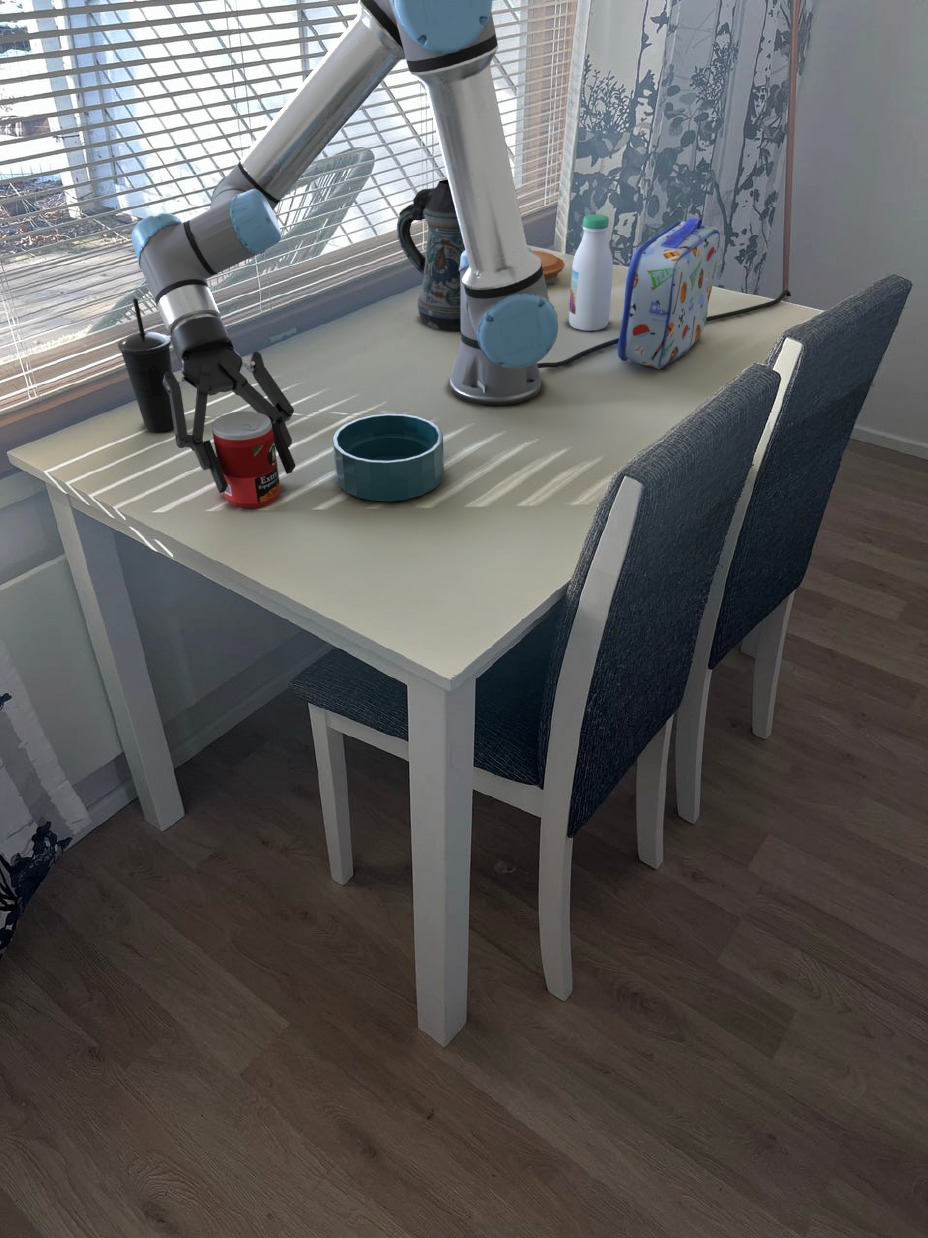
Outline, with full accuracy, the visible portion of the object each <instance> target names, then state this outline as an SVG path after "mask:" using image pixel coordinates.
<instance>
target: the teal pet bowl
mask: <svg viewBox="0 0 928 1238" xmlns="http://www.w3.org/2000/svg"><path fill="white" fill-rule="evenodd" d="M332 449H333V457H334V468H335V477H336V481H337V485H338V486H339V487H340V488H341V489H342V490H343V491H344V492H345V493H347V494H350V495H351V496H354V497H356V498H359V499H364V500H368V501H373V502H398V501H404V500H405V501H406V500H410V499H413V498H417V497H420V496H424V495H425V494H427V493H429V492H431V491H432V490H434V489H436V488H437V487H438V486H439V485H440V483H441V482H442V481H443V479H444V474H445V458H444V434H443V432H442V430H441V428H440V427H439V426H438V425H437V424H435V423H434V422H433V421H431V420H428V419H425V418H423V417H421V416H417V415H411V414H405V413H381V414H372V415H367V416H363V417H359V418H356V419H353V420H351V421H350V422H347V423H344V424H343V425H342V426H340V428H338V429H337V430H335V433H334V435H333V437H332Z"/></svg>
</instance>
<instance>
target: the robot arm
mask: <svg viewBox="0 0 928 1238" xmlns="http://www.w3.org/2000/svg"><path fill="white" fill-rule="evenodd" d="M357 7H358V8H357V12H358V13H357V16H355V18H354V19H353V21H352V22H351V23H350V24H349V26H348V27H347V28H346V29H345V31H344V32H343V33H342V34H341V36H339V38H338V39H337V41H336V42H335V43H334V44H333V45H332V47H331V48H330V49H329V50H328V51H327V53H326V54H325V55H324V56H323V58H322V59H321V60H320V61H319V62H318V63H317V65H316V66H315V68H314V69H313V70H312V71H311V72H310V73H309V75H308V76H307V77H306V79H304V81H303V82H302V83H301V85H300V86H299V87H298V89H297V90H296V91H295V92H294V93H293V94H292V96H291V97H290V98H289V100H288V101H287V102H286V103H285V105H284V106H283V107H282V108H281V110H279V112H278V113H277V114H276V115H275V116H274V118H273V119H272V120H271V122H270V123H268V125H267V127H266V128H265V129H264V130H263V132H261V134H259V136H258V138H256V140H255V141H254V142H253V144H252V145H251V146H250V147H249V149H247V151H246V152H245V154H244V155H243V156H242V157H241V158H240V160H239V162H238V163H237V164H236V165H235V166H234V167H233V168H232V170H231V171H230V172H229V173H228V175H226V176H224V177H223V178H221V179H220V180H219V182H218V183H217V184H216V186H215V187H214V189H213V190H212V195H211V197H210V207H209V209H208V210H206V211H204V212H203V213H201V214H199V215H197V216H195V217H193V218H192V219H189V220H187V221H183V222H182V220H181V218H179V217H178V216H177V215H175V214H172V213H169V212H161V213H158V214H157V215H152V214H151V215H148V216H146V217H144V218H143V219H141V220H140V221H139V222H138V223H136V225H135V226H134V227H133V229H132V231H131V235H130V236H131V237H130V239H131V243H132V246H133V249H134V252H135V256H136V258H137V264H138V267H139V269H140V270H141V272H142V274H143V277H144V279H145V282H146V284H147V286H148V288H149V291H150V293H151V295H152V298H153V300H154V302H155V305H156V307H157V309H158V313H159V314H160V318H161V320H162V322H163V325H164V327H165V330H166V332H167V335H168V336H170V340H171V345H172V347H173V350H174V352H175V355H176V357H177V360H178V362H179V364H180V370H177V371H174V372H173V371H172V372H170V371H167V372H165V374H164V379H163V385H164V387H165V389H166V391H167V393H168V394H169V398H170V404H171V411H172V418H173V424H174V428H173V431H174V437H175V444H176V446H177V448H180V449H185V448H190V449H191V451H193V452H194V453H195V457H196V458H197V460H198V461H197V462H198V463H199V466H200V468H201V469H202V470H203V471H207V470H209V471H210V473H211V477H212V478H213V481H214V483H215V486H216V488H217V490H218V493H219V494H222V493H223V492H225V490H226V488H227V486H228V484H227V481H226V479H225V476H224V474H223V471H222V469H221V467H220V464H219V462H218V459H217V456H216V451H215V448H214V447H213V445H212V443H211V440H210V439H208V440H204V431H205V423H206V422H205V421H206V413H207V406H208V405H207V404H208V396H209V397H212V396H215V395H217V394H219V393H228V392H231V391H232V392H233V393H234V394H235V395H236V396H238V397H240V398H241V399H242V400H243V401H245V403H247V404H248V405H249V406H250V407H251V408H252V409H253V410H254V412H258V413H262V414H264V415H266V416H268V417H269V418H270V420H271V424H272V430H273V436H274V444H275V451H276V453H277V454H278V457H279V459H280V462H281V464H282V467H283V469H284V472H285V474H286V475H289V474H292V473H293V471H294V470H295V467H296V466H297V465H296V463H295V460H294V458H293V456H292V453H291V451H290V449H289V448H290V447H291V446H292V444H293V439H292V437H291V434H290V432H289V429H288V427H287V425H286V422H288V421H290V420H291V418H292V416H293V414H294V412H295V408H294V407H293V406H292V404H291V403H290V401H289V399H288V398H287V397H286V395H285V394H284V392H283V390H281V388H280V387H279V385H278V384H277V383H276V381H275V380H274V378H273V377H272V375H271V374H270V373H269V371H268V369H267V368H266V367H265V363H264V359H263V356H262V354H261V352H259V351H254V352H253V353H252V355H245V356H241V355H240V354H239V353H238V352H237V351H236V349H235V348H234V345H233V342H232V339H231V337H230V334H229V332H228V330H227V327H226V325H225V323H224V321H223V320H222V319H221V318H222V317H221V313H220V310H219V307H218V306H217V303H216V302H215V298H214V296H213V294H212V292H211V289H210V286H209V284H208V279H209V278H211V277H214V276H216V275H218V274H220V273H222V272H224V271H225V270H228V269H230V268H232V267H234V266H237V265H238V264H241V263H242V262H245V261H247V260H249V259H251V258H254V257H255V256H258V255H262V254H264V253H265V252H266V251H267V250H268V249H270V248H271V247H274V246H275V245H277V244H279V242H281V240H282V230H281V228H280V224H279V222H278V219H277V217H276V214H275V212H274V210H275V209H276V208H277V206H278V205H279V204H280V202H281V201H282V200H283V198H284V197H285V196H286V195H287V194H288V192H289V191H290V190H291V189H292V187H294V185H296V183H298V181H299V179H301V177H302V176H303V175H304V174H305V172H306V171H307V170H308V169H309V168H310V167H311V165H313V163H314V162H315V161H316V160H317V158H318V157H319V156H320V155H321V154H322V153H323V151H325V149H326V148H327V147H328V146H329V144H331V142H332V141H333V140H334V138H336V137H337V135H338V134H339V133H340V132H341V130H342V129H343V128H344V127H345V126H346V124H347V123H348V122H349V121H350V120H351V119H352V118H353V116H354V115H355V114H356V113H357V111H359V109H360V108H361V107H362V106H363V104H364V103H365V102H366V101H367V100H368V99H369V98H370V96H371V95H372V94H373V93H374V92H375V91H376V89H377V88H378V87H379V86H380V84H382V82H383V81H384V80H385V79H386V78H387V77H388V76H389V74H390V73H391V72H392V71H393V70H394V68H395V67H396V66H397V65H398V64H399V63H400V62H406V64H407V67H408V72H409V75H411V76H412V77H414V78H415V79H417V80H418V81H420V82H421V83H422V84H423V85H424V87H425V92H426V95H427V99H428V103H429V107H430V111H431V115H432V119H433V123H434V128H435V131H436V135H437V139H438V143H439V148H440V152H441V156H442V159H443V163H444V168H445V172H446V177H447V180H448V181H449V185H450V189H451V193H452V197H453V201H454V205H455V209H456V213H457V217H458V221H459V225H460V229H461V233H462V237H463V241H464V246H465V251H464V252H463V253H462V255H461V261H460V268H459V272H460V286H461V331H460V344H459V348H458V351H457V354H456V356H455V360H454V363H453V367H452V370H451V373H450V380H449V381H450V384H449V385H450V386H449V387H450V391H451V392H452V393H453V395H455V396H456V397H457V398H459V399H461V400H464V401H466V402H468V403H472V404H476V405H484V406H508V405H515V404H520V403H523V402H526V401H528V400H531V399H533V398H534V397H536V396H537V395H538V394H539V393H540V391H541V387H542V386H541V385H542V384H541V383H542V378H541V372H540V369H547V368H550V369H552V368H553V369H554V368H561V367H565V366H567V365H570V364H571V363H573V362H575V361H577V360H580V359H582V358H584V357H586V356H588V355H591V354H593V353H596V352H597V351H600V350H603V349H606V348H608V347H611V346H613V345H618V341H619V337H617V338H614V339H611V340H609V341H605V342H602V343H599V344H597V345H595V346H592V347H590V348H587V349H585V350H582V351H580V352H578V353H576V354H574V355H572V356H570V357H568V358H565V359H563V360H560V361H555V362H541V360H543V359H544V358H545V357H547V355H548V354H549V352H550V351H551V350H552V348H553V347H554V345H555V343H556V341H557V338H558V335H559V320H558V313H557V310H556V309H555V307H554V305H553V303H552V302H551V301H550V297H549V291H548V288H547V286H546V282H545V278H544V273H543V268H542V263H541V259H540V258H539V257H538V256H537V255H535V254H534V252H533V251H534V250H533V249H531V248H530V247H529V246H528V244H527V239H526V234H525V228H524V225H523V224H524V223H523V219H522V215H521V209H520V205H519V200H518V199H519V198H518V195H517V191H516V186H515V181H514V176H513V175H514V174H513V171H512V167H511V166H512V165H511V161H510V157H509V152H508V147H507V142H506V136H505V131H504V127H503V122H502V118H501V113H500V109H499V103H498V99H497V94H496V88H495V84H494V79H493V74H492V69H491V64H492V61H493V59H494V58H495V55H496V53H497V51H498V49H499V43H498V37H497V31H496V28H495V23H494V17H493V13H492V9H493V0H358V1H357ZM785 297H792V294H791V291H790V290H788V289H784V290H783V291H782V292H781V294H779V296H778V297H777V298H775V299H773V300H770V301H767V302H764V303H760V304H757V305H752V306H749V307H746V308H741V309H738V310H737V309H736V310H732V311H729V312H724V313H719V314H714V315H709V316H707V318H706V323H707V322H711V321H717V320H722V319H725V318H731V317H734V316H739V315H744V314H747V313H750V312H754V311H758V310H762V309H765V308H769V307H772V306H775V305H777V304H779V303H780V302H782V300H783V299H784V298H785ZM242 367H244V368H246V370H247V371H248V373H251V374H252V377H253V378H254V380H255V382H256V383H257V384H258V386H259V387H260V389H261V390H262V391H263V393H264V394H265V396H266V398H265V397H264V396H263V395H262V394H261V393H260V392H259V391H258V390H257V389H256V388H255V387H253V385H252V384H250V383H249V381H248V379H247V378H246V377H245V376H244V375H243V373H241V369H242ZM183 381H185V382H186V383H188V384H189V385H191V386H192V387H194V388H195V389H196V394H195V407H194V416H193V425H192V433H191V434H188V429H187V423H186V422H187V421H186V416H185V409H184V402H183V396H182V386H183ZM268 400H269V401H268Z"/></svg>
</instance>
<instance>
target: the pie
mask: <svg viewBox="0 0 928 1238" xmlns="http://www.w3.org/2000/svg"><path fill="white" fill-rule="evenodd" d="M532 251H533V252H534V254H535V255H537V256H538V257H539V258H540V259H541V263H542V268H543V273H544V278H545V282H546V287H547V286H550V285H552V284H553V283H554V281H556V279H557V277H558V275H559V274H560V273H561V272H562V271H563V270H564V269H565V265H566V264H565V262H564V260H563V259H561V258H560V257H557V256H556V255H555V254H553V253H550V252H546V251H540V250H532Z"/></svg>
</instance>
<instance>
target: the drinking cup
mask: <svg viewBox="0 0 928 1238" xmlns="http://www.w3.org/2000/svg"><path fill="white" fill-rule="evenodd" d="M132 304H133V307H134V308H133V309H134V312H135V317H136V321H137V322H136V323H137V327H138V332H134V333H131V334H129V335H128V336H126V337H124V338H122V339H121V340H119V341H118V343H117V348H118V350H119V351H120V352H121V356H122V358H123V362H124V365H125V368H126V372H127V374H128V377H129V380H130V384H131V386H132V389H133V393H134V396H135V399H136V402H137V405H138V409H139V411H140V414H141V418H142V421H143V424H144V426H145V430H146V431H148V432H150V433H165V432H169V431H172V430H174V424H173V418H172V411H171V404H170V398H169V394H168V393H167V391H166V389H165V387H164V385H163V379H164V374H165V372H167V371H170V372H172V373H173V369H172V358H171V348H170V346H171V345H172V342H171V337H169V335H168V334H167V335H166V334H163V333H159V332H155V331H150V330H149V331H148V330H147V331H146V330H145V329H144V328H145V327H144V323H143V318H142V313H141V310H140V305H139V299H138V298H132Z"/></svg>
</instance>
